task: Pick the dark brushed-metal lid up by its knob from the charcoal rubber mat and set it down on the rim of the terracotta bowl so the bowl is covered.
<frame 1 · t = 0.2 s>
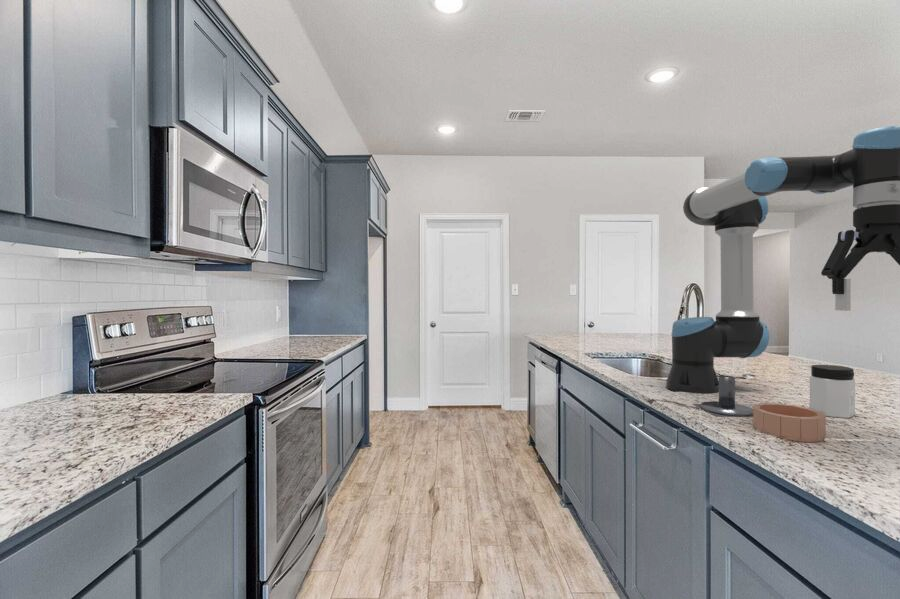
hand: (877, 310, 86), 28 cm above the worktop, fingers open, 13 cm apart
mat: (726, 412, 110), on the worktop
lid: (726, 410, 110), point 1 cm above the worktop, touching mat
bowl: (787, 432, 94), on the worktop
jar: (831, 414, 108), on the worktop
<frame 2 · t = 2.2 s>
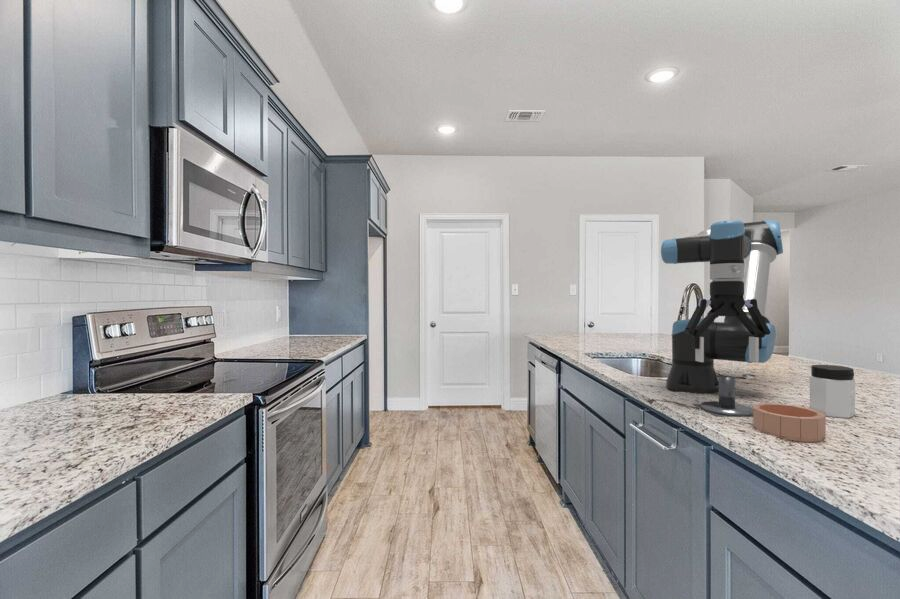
hand: (726, 361, 110), 13 cm above the worktop, fingers open, 13 cm apart
nothing on the worktop moved.
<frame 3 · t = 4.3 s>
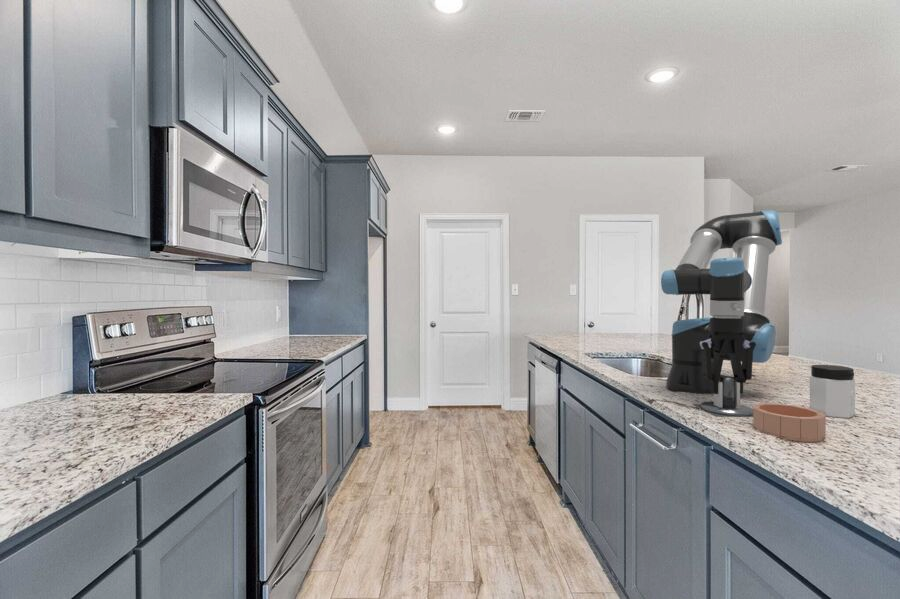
hand: (726, 406, 110), 2 cm above the worktop, fingers closed on lid, 4 cm apart
lid: (726, 410, 110), point 1 cm above the worktop, touching gripper, mat
everything else where it was.
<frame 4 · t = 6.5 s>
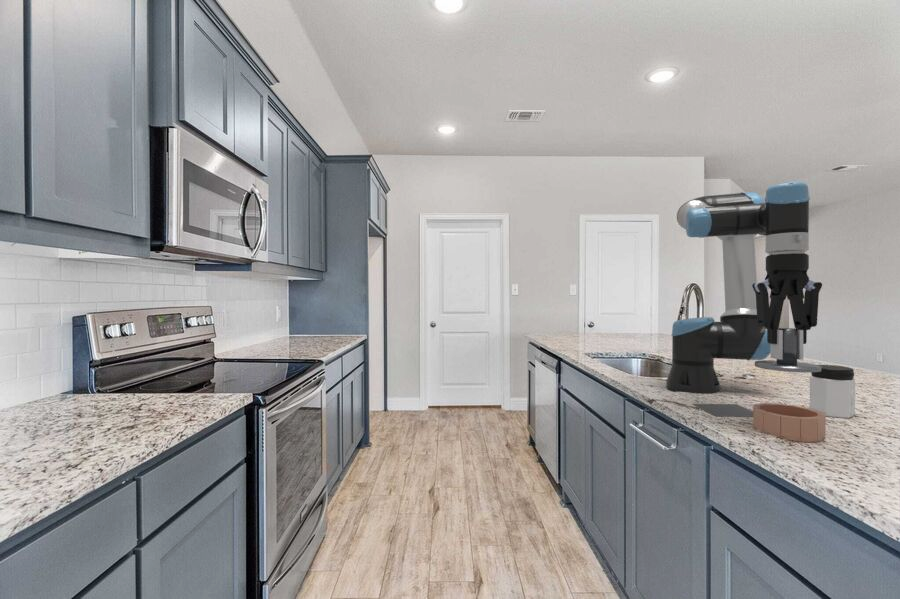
hand: (786, 358, 94), 17 cm above the worktop, fingers closed on lid, 4 cm apart
lid: (786, 367, 94), point 15 cm above the worktop, touching gripper
everything else where it was.
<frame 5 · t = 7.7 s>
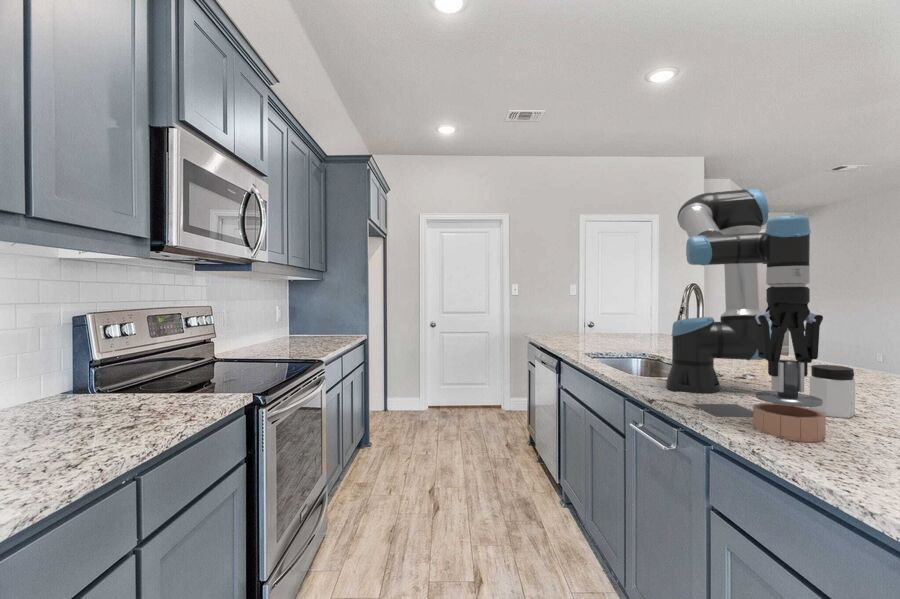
hand: (787, 390, 94), 9 cm above the worktop, fingers closed on lid, 4 cm apart
lid: (787, 400, 94), point 7 cm above the worktop, touching gripper
everything else where it was.
when the fingers open (8 cm above the worktop, at t = 8.7 s): lid drops 1 cm, resting on bowl.
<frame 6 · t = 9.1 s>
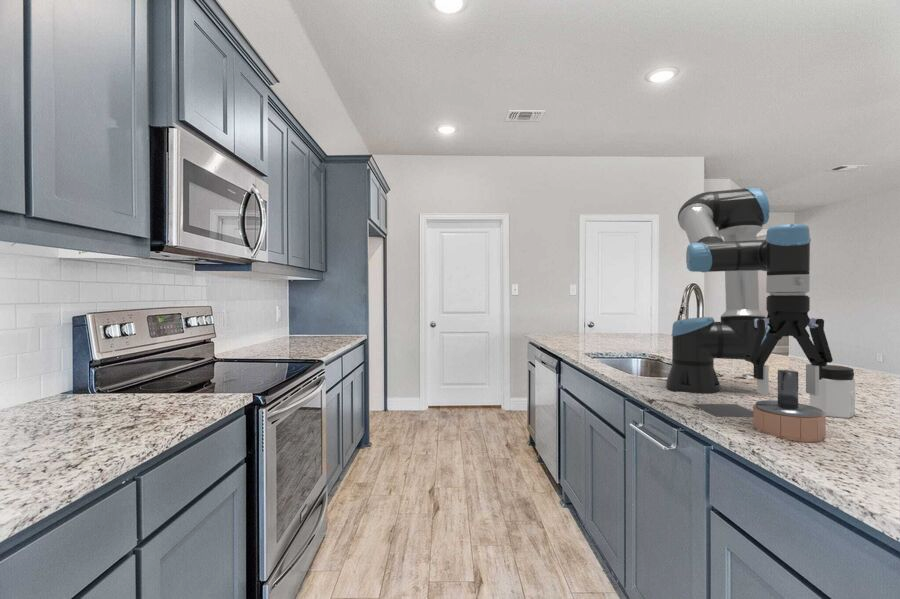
hand: (787, 394, 94), 9 cm above the worktop, fingers open, 10 cm apart
lid: (787, 410, 94), point 5 cm above the worktop, touching bowl
everything else where it was.
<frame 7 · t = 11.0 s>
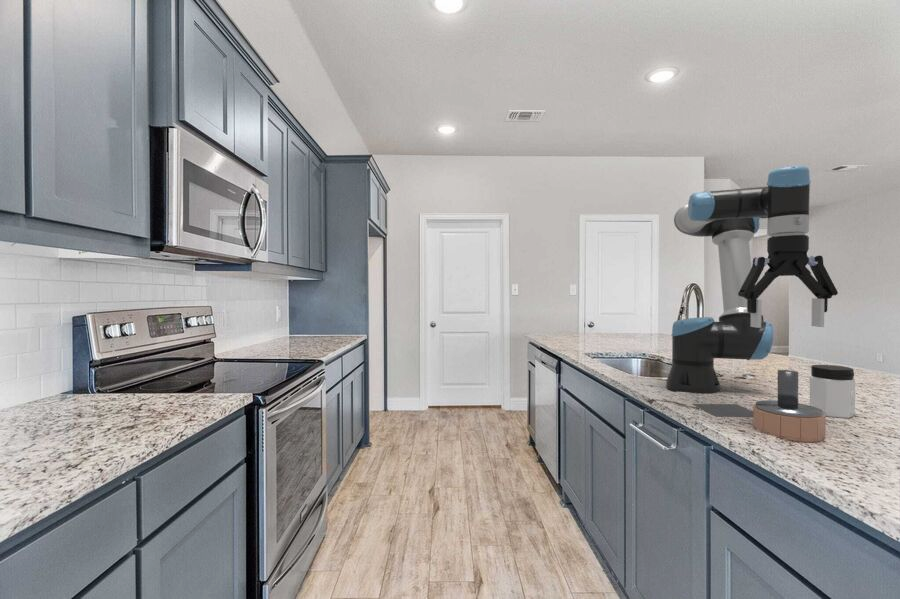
hand: (786, 327, 98), 23 cm above the worktop, fingers open, 13 cm apart
nothing on the worktop moved.
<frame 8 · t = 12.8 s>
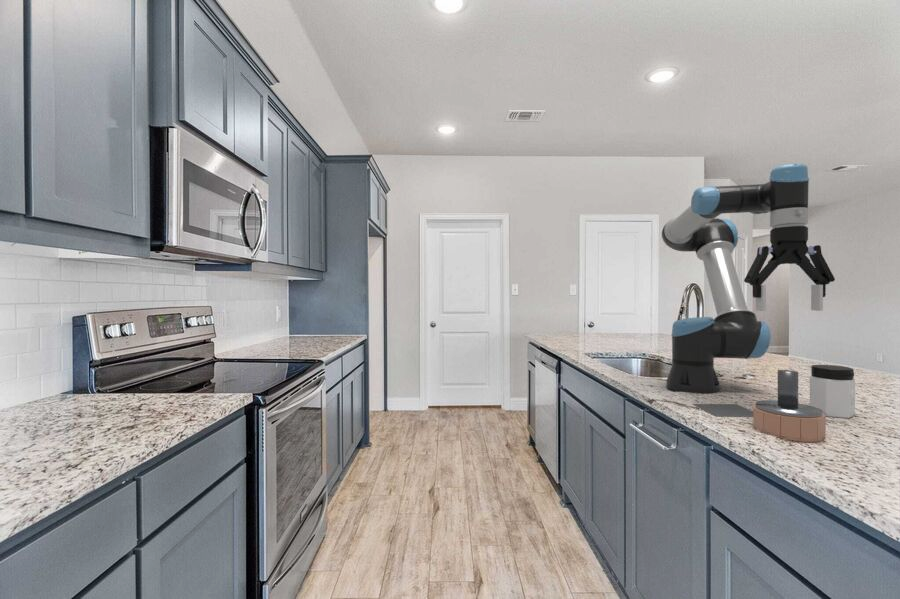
hand: (788, 310, 107), 27 cm above the worktop, fingers open, 13 cm apart
nothing on the worktop moved.
at the end: lid 0.1 cm off-centre on the bowl, point 5.0 cm above the bowl's base; lid tilted 0°; the gripper is holding nothing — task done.
